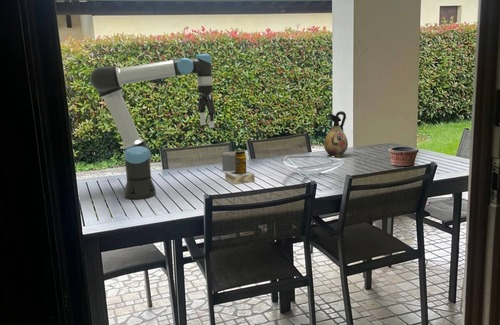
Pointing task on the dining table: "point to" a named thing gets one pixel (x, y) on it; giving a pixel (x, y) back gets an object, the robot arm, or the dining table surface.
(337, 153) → the ceramic jug
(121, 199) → the dining table surface
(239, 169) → the condiment
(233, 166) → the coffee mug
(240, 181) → the plinth
